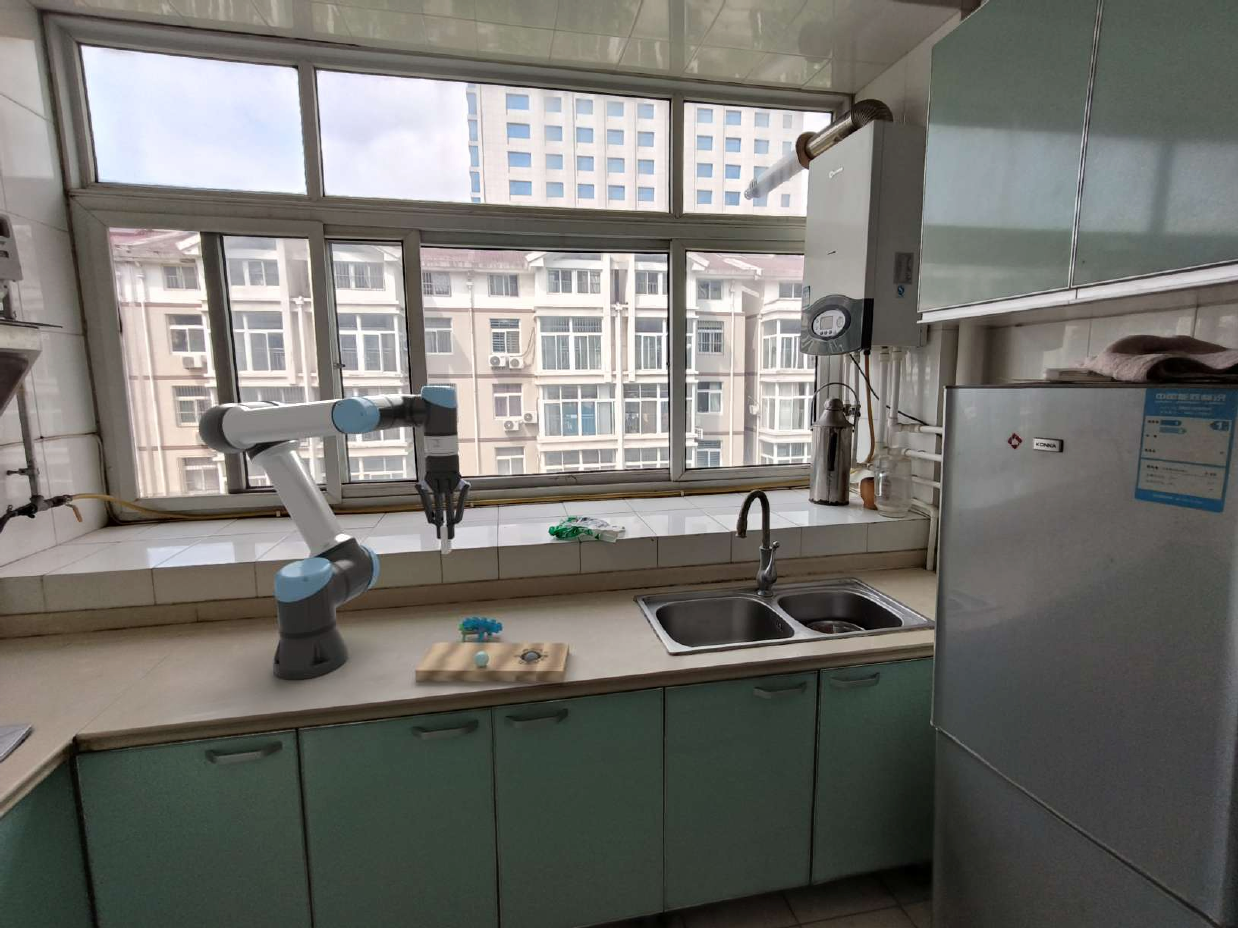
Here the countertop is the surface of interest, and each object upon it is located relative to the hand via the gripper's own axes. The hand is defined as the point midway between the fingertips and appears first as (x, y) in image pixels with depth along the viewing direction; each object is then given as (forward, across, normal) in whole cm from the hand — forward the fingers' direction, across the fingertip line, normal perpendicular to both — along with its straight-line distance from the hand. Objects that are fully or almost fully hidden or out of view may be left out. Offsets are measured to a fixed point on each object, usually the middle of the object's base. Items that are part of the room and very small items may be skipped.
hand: (446, 552), depth 136 cm
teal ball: (+20, +11, -13) cm, 26 cm away
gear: (+25, +6, +4) cm, 26 cm away
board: (+24, +13, -8) cm, 29 cm away
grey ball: (+23, +21, -8) cm, 32 cm away
